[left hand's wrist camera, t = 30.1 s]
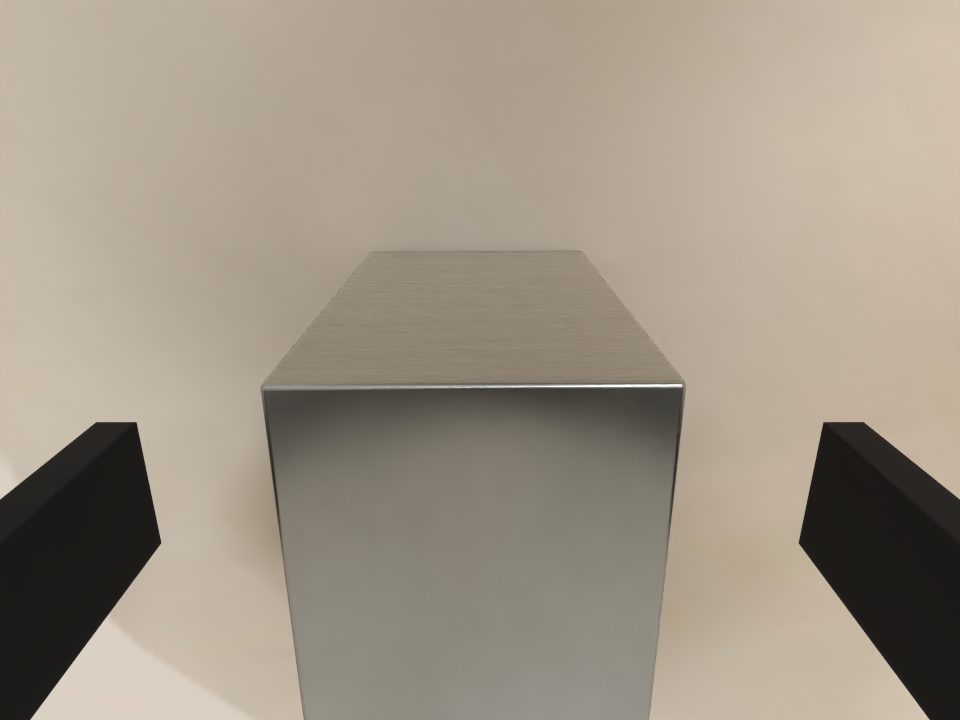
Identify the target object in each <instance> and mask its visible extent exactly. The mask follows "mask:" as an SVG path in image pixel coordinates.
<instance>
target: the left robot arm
mask: <svg viewBox="0 0 960 720" xmlns="http://www.w3.org/2000/svg"><path fill="white" fill-rule="evenodd" d="M160 544H161V539H160V534H159V530H158V525H157V520H156V515H155V510H154V505H153V500H152V495H151V491H150V486H149V481H148V476H147V471H146V466H145V461H144V457H143V452H142V447H141V442H140V437H139V432H138V427H137V423H136V422H96V423H95V424H94V425H92V426H91V427H90V428H89V429H87V430H86V431H85V432H84V433H82V434H81V435H80V436H79V437H77V438H76V439H75V440H74V441H72V442H71V443H70V444H69V445H67V446H66V447H65V448H64V449H63V450H61V451H60V452H59V453H58V454H56V455H55V456H54V457H53V458H51V459H50V460H49V461H48V462H46V463H45V464H44V465H43V466H41V467H40V468H39V469H38V470H36V471H35V472H34V473H33V474H31V475H30V476H29V477H28V478H26V479H25V480H24V481H23V482H21V483H20V484H19V485H18V486H17V487H15V488H14V489H13V490H12V491H10V492H9V493H8V494H7V495H5V496H4V497H3V498H2V499H0V720H30V719H31V718H32V717H33V715H34V714H35V713H36V711H37V710H38V709H39V707H40V706H41V704H42V703H43V702H44V700H45V699H46V698H47V696H48V695H49V694H50V692H51V691H52V690H53V688H54V687H55V686H56V684H57V683H58V682H59V680H60V679H61V678H62V676H63V675H64V674H65V672H66V671H67V669H68V668H69V667H70V665H71V664H72V663H73V661H74V660H75V659H76V657H77V656H78V655H79V653H80V652H81V651H82V649H83V648H84V647H85V645H86V644H87V642H88V641H89V640H90V639H91V637H92V636H93V634H94V633H95V632H96V630H97V629H98V628H99V626H100V625H101V624H102V622H103V621H104V620H105V618H106V617H107V616H108V614H109V613H110V612H111V610H112V609H113V608H114V606H115V605H116V603H117V602H118V601H119V599H120V598H121V597H122V595H123V594H124V593H125V591H126V590H127V589H128V587H129V586H130V585H131V583H132V582H133V581H134V579H135V578H136V577H137V575H138V574H139V572H140V571H141V570H142V568H143V567H144V566H145V564H146V563H147V562H148V560H149V559H150V558H151V556H152V555H153V554H154V552H155V551H156V550H157V548H158V547H159V546H160ZM799 544H800V546H801V547H802V548H803V550H804V551H805V552H806V554H807V555H808V556H809V558H810V559H811V560H812V562H813V563H814V564H815V566H816V567H817V568H818V570H819V571H820V572H821V574H822V575H823V577H824V578H825V579H826V581H827V582H828V583H829V585H830V586H831V587H832V589H833V590H834V591H835V593H836V594H837V595H838V597H839V598H840V599H841V601H842V602H843V603H844V605H845V606H846V608H847V609H848V610H849V612H850V613H851V614H852V616H853V617H854V618H855V620H856V621H857V622H858V624H859V625H860V626H861V628H862V629H863V630H864V632H865V633H866V634H867V636H868V637H869V639H870V640H871V641H872V643H873V644H874V645H875V647H876V648H877V649H878V651H879V652H880V653H881V655H882V656H883V657H884V659H885V660H886V661H887V663H888V664H889V665H890V667H891V668H892V670H893V671H894V672H895V674H896V675H897V676H898V678H899V679H900V680H901V682H902V683H903V684H904V686H905V687H906V688H907V690H908V691H909V692H910V694H911V695H912V696H913V698H914V699H915V701H916V702H917V703H918V705H919V706H920V707H921V709H922V710H923V711H924V713H925V714H926V715H927V717H928V718H929V719H930V720H960V499H958V498H957V497H956V496H955V495H953V494H952V493H951V492H950V491H948V490H947V489H946V488H945V487H943V486H942V485H941V484H940V483H939V482H937V481H936V480H935V479H934V478H932V477H931V476H930V475H929V474H927V473H926V472H925V471H924V470H922V469H921V468H920V467H919V466H917V465H916V464H915V463H914V462H912V461H911V460H910V459H909V458H907V457H906V456H905V455H904V454H902V453H901V452H900V451H899V450H897V449H896V448H895V447H894V446H893V445H891V444H890V443H889V442H888V441H886V440H885V439H884V438H883V437H881V436H880V435H879V434H878V433H876V432H875V431H874V430H873V429H871V428H870V427H869V426H868V425H866V424H865V423H864V422H824V423H823V427H822V432H821V437H820V442H819V447H818V452H817V457H816V461H815V466H814V471H813V476H812V481H811V486H810V491H809V495H808V500H807V505H806V510H805V515H804V520H803V525H802V530H801V534H800V539H799Z"/></svg>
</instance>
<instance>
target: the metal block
mask: <svg viewBox="0 0 960 720" xmlns="http://www.w3.org/2000/svg"><path fill="white" fill-rule="evenodd" d="M685 391H686V384H685V382H684V380H683V379H682V378H681V376H680V375H679V374H678V373H677V371H676V370H675V369H674V368H673V366H672V365H671V364H670V363H669V361H668V360H667V359H666V358H665V356H664V355H663V354H662V352H661V351H660V350H659V349H658V347H657V346H656V345H655V344H654V342H653V341H652V340H651V339H650V337H649V336H648V335H647V334H646V332H645V331H644V330H643V329H642V327H641V326H640V325H639V323H638V322H637V321H636V320H635V318H634V317H633V316H632V315H631V313H630V312H629V311H628V310H627V308H626V307H625V306H624V305H623V303H622V302H621V301H620V300H619V298H618V297H617V296H616V294H615V293H614V292H613V291H612V289H611V288H610V287H609V286H608V284H607V283H606V282H605V281H604V279H603V278H602V277H601V276H600V274H599V273H598V272H597V271H596V269H595V268H594V267H593V265H592V264H591V263H590V262H589V260H588V259H587V258H586V257H585V255H584V254H583V253H582V252H580V251H548V252H378V253H370V254H369V255H368V256H367V258H366V259H365V260H364V261H363V262H362V264H361V265H360V266H359V267H358V268H357V270H356V271H355V272H354V273H353V275H352V276H351V277H350V278H349V279H348V281H347V282H346V283H345V284H344V285H343V287H342V288H341V289H340V290H339V291H338V293H337V294H336V295H335V296H334V298H333V299H332V300H331V301H330V302H329V304H328V305H327V306H326V307H325V308H324V310H323V311H322V312H321V313H320V315H319V316H318V317H317V318H316V319H315V321H314V322H313V323H312V324H311V325H310V327H309V328H308V329H307V330H306V332H305V333H304V334H303V335H302V336H301V338H300V339H299V340H298V341H297V342H296V344H295V345H294V346H293V347H292V349H291V350H290V351H289V352H288V353H287V355H286V356H285V357H284V358H283V359H282V361H281V362H280V363H279V364H278V366H277V367H276V368H275V369H274V370H273V372H272V373H271V374H270V375H269V376H268V378H267V379H266V380H265V381H264V382H263V384H262V386H261V394H262V402H263V410H264V417H265V425H266V433H267V440H268V448H269V456H270V463H271V471H272V479H273V486H274V494H275V502H276V509H277V517H278V525H279V532H280V540H281V548H282V555H283V563H284V571H285V578H286V586H287V594H288V601H289V609H290V617H291V624H292V632H293V640H294V647H295V655H296V663H297V670H298V678H299V686H300V693H301V701H302V709H303V716H304V720H649V716H650V707H651V698H652V689H653V680H654V671H655V662H656V653H657V644H658V635H659V626H660V617H661V608H662V599H663V590H664V581H665V572H666V563H667V554H668V545H669V536H670V527H671V518H672V509H673V500H674V491H675V482H676V473H677V464H678V455H679V446H680V437H681V428H682V419H683V410H684V400H685Z"/></svg>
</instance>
